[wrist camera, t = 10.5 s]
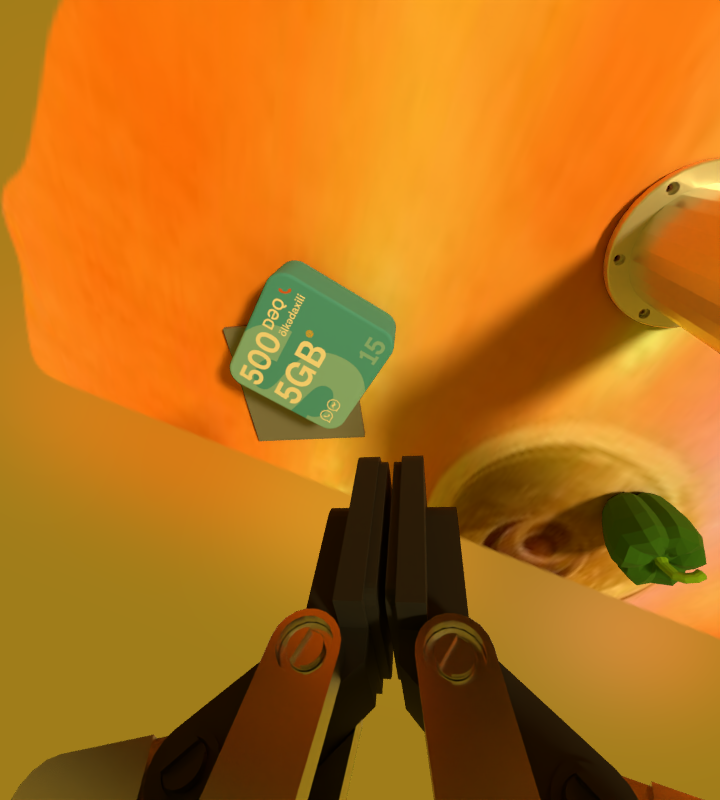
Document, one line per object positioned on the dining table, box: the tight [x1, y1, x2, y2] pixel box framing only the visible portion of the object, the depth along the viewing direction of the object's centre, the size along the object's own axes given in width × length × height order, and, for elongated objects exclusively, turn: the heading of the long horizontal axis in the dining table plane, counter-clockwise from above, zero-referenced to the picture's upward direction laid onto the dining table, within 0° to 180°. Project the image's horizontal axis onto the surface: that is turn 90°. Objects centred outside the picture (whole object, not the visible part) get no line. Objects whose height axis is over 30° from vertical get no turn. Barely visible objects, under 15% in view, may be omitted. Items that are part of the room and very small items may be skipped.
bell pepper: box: [602, 492, 707, 586], centre depth 43 cm, size 8×8×10 cm
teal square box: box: [230, 261, 396, 429], centre depth 38 cm, size 12×4×12 cm
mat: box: [223, 325, 365, 441], centre depth 44 cm, size 12×14×1 cm
